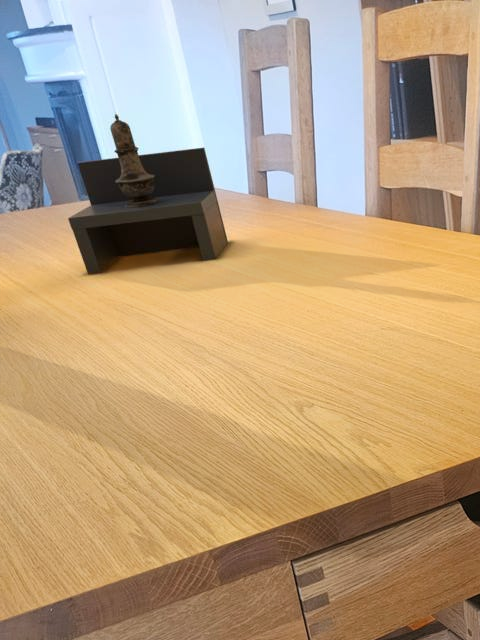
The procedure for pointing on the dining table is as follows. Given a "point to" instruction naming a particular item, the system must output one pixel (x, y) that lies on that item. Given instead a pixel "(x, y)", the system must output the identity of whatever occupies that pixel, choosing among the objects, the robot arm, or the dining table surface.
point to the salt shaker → (131, 167)
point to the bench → (149, 210)
